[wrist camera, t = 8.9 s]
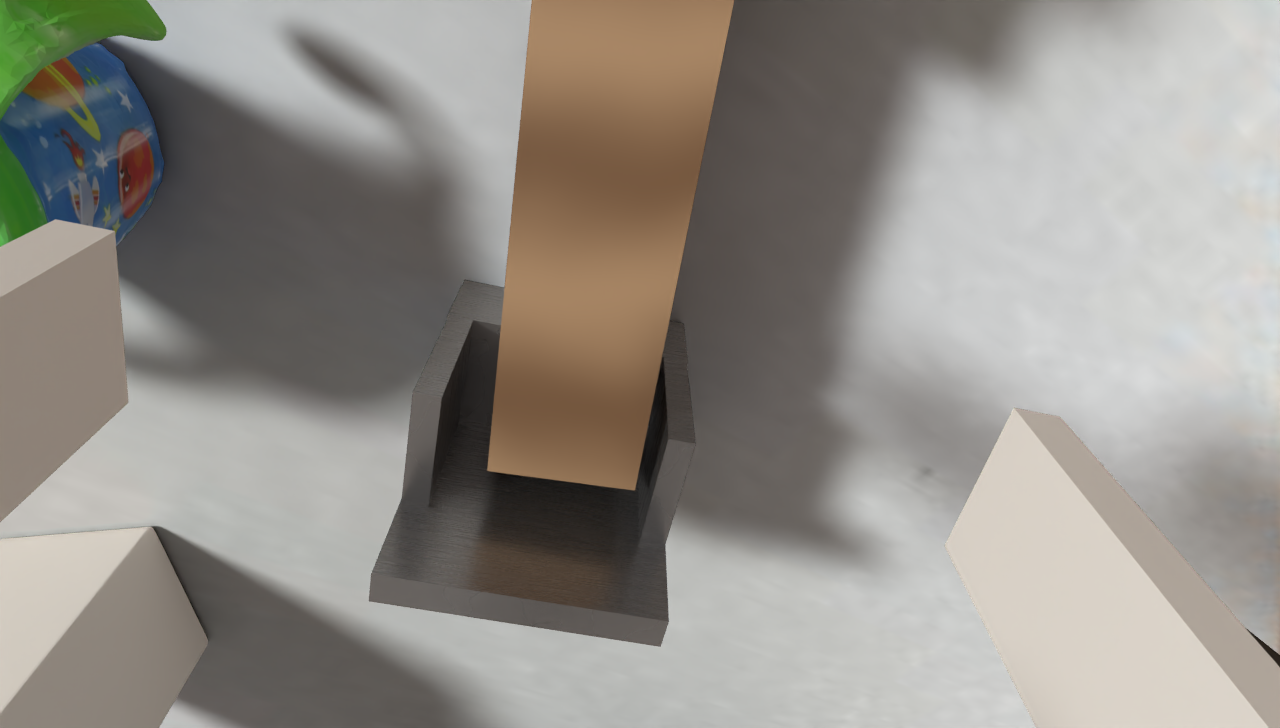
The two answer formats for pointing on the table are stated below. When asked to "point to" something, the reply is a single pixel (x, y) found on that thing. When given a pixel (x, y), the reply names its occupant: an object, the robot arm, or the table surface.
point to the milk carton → (92, 631)
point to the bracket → (529, 503)
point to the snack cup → (74, 117)
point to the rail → (599, 228)
